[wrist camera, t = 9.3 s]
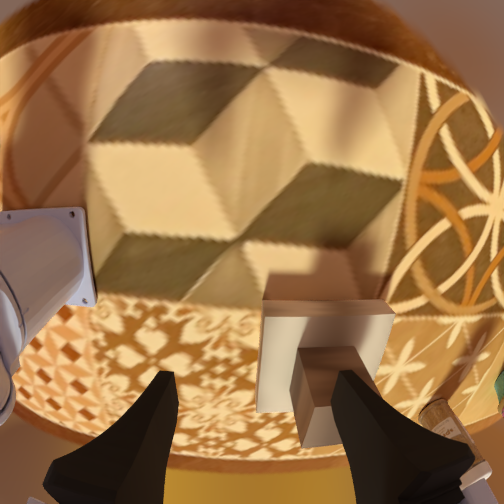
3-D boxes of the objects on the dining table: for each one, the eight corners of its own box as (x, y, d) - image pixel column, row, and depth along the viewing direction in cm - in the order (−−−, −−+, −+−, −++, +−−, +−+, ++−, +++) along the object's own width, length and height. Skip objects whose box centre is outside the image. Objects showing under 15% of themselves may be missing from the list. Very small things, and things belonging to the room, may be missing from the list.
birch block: (254, 389, 26) (256, 412, 23) (261, 296, 23) (264, 316, 20) (354, 384, 27) (364, 404, 24) (380, 296, 23) (395, 313, 21)
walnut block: (289, 390, 22) (301, 448, 17) (297, 347, 21) (314, 407, 15) (341, 387, 23) (362, 440, 17) (354, 345, 21) (382, 399, 16)
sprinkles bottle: (425, 401, 28) (472, 482, 15) (451, 394, 28) (500, 466, 16) (412, 425, 30) (451, 502, 17) (438, 417, 30) (479, 487, 17)
